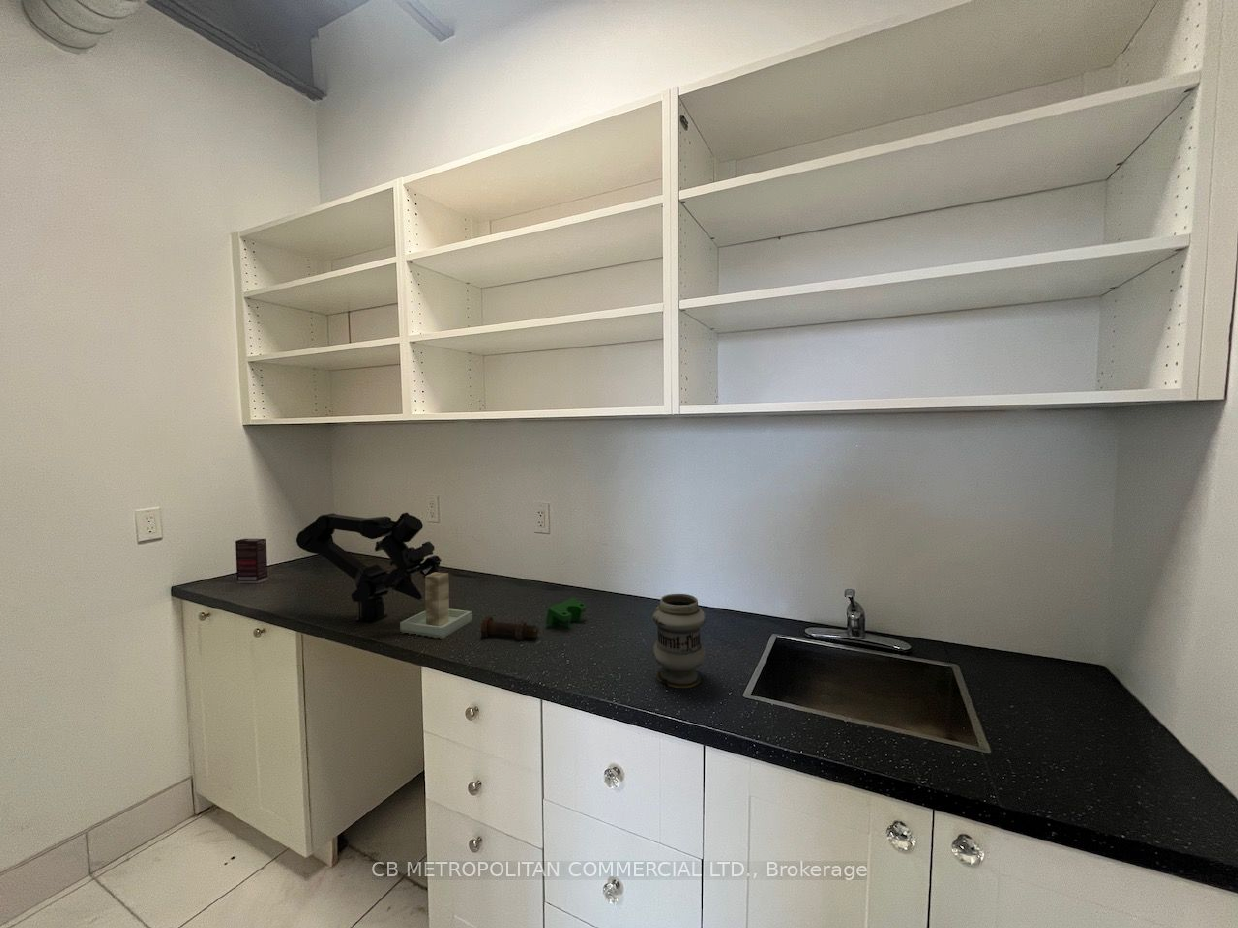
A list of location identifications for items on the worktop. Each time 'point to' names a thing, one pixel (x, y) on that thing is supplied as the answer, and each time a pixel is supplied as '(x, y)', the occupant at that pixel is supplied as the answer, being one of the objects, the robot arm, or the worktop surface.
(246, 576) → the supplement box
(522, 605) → the worktop surface
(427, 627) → the tray
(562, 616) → the clamp
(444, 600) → the maple block
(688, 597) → the apothecary jar
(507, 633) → the bolt
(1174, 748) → the worktop surface
